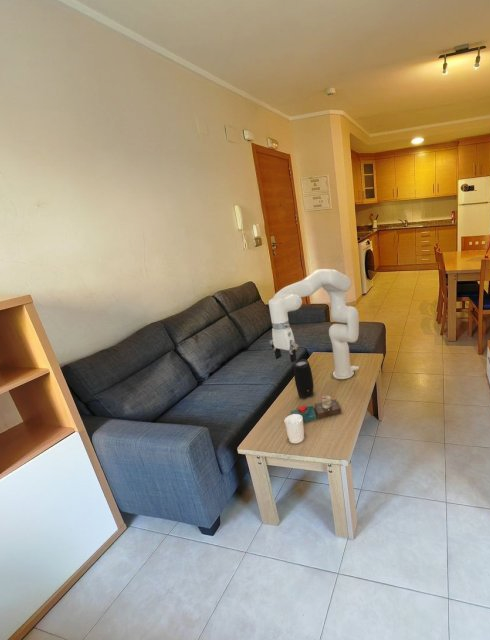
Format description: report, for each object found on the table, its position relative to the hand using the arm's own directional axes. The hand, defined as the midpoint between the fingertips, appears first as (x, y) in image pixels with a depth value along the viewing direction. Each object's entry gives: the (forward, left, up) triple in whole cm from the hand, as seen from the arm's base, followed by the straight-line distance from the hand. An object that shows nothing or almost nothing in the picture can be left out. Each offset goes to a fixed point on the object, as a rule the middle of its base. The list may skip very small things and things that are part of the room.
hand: (286, 359), depth 158 cm
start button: (-4, +4, -26) cm, 27 cm away
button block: (-4, +4, -30) cm, 30 cm away
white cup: (+2, +19, -30) cm, 36 cm away
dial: (-16, +4, -27) cm, 31 cm away
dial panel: (-16, +4, -30) cm, 34 cm away
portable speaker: (-8, -16, -30) cm, 35 cm away
